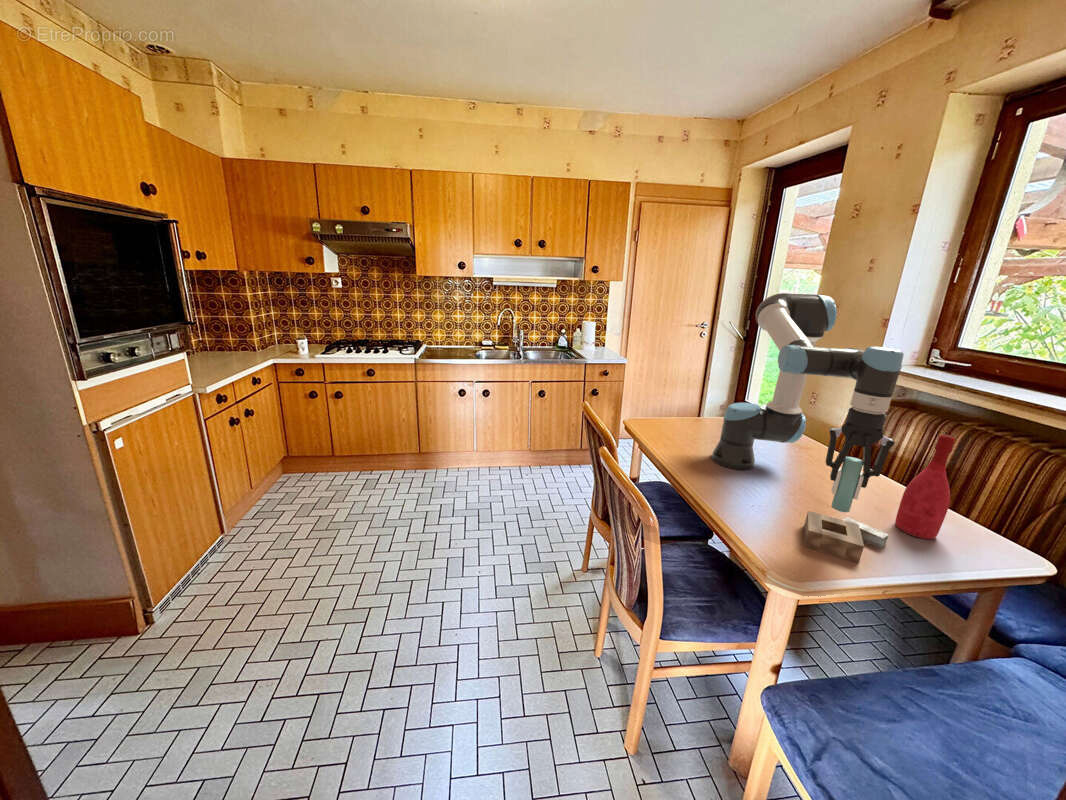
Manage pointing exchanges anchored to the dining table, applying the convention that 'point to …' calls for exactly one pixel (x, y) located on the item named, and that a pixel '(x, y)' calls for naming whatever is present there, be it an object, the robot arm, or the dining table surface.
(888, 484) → the dining table surface
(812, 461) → the dining table surface
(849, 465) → the peg
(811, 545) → the socket block
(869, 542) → the grey bar
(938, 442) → the wine bottle
